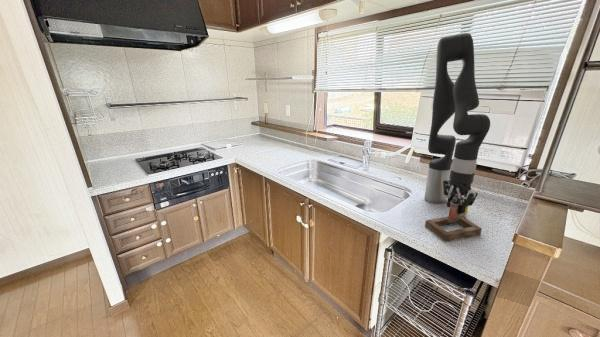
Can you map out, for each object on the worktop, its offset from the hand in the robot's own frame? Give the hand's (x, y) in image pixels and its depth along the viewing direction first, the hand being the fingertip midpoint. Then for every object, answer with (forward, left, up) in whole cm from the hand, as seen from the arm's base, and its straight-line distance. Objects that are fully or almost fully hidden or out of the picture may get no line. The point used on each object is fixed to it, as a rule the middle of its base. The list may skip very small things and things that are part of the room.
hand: (455, 209), depth 95 cm
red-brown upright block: (0, 0, -4) cm, 4 cm away
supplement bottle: (-12, -9, -10) cm, 18 cm away
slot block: (0, 0, -9) cm, 9 cm away
